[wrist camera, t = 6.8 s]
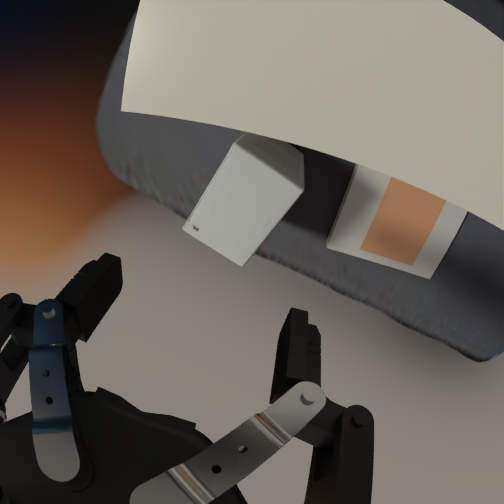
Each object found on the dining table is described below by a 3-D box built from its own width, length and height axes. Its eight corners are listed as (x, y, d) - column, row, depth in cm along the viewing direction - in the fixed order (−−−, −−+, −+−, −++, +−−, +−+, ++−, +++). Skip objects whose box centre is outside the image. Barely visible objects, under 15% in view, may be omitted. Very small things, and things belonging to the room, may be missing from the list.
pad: (468, 196, 25) (473, 200, 24) (427, 273, 32) (430, 279, 31) (361, 148, 26) (363, 151, 25) (326, 242, 32) (326, 248, 31)
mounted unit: (467, 88, 19) (595, 124, 5) (439, 171, 25) (537, 270, 10) (234, 6, 20) (144, -69, 5) (212, 98, 25) (101, 130, 11)
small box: (260, 212, 31) (241, 271, 23) (216, 183, 30) (179, 231, 22) (305, 153, 27) (307, 191, 18) (257, 120, 26) (233, 141, 17)
